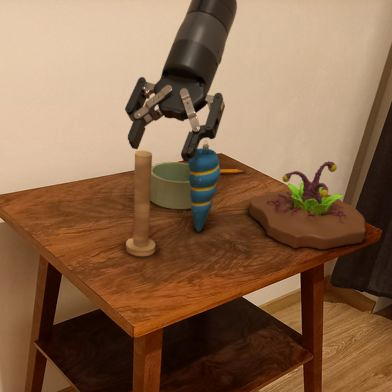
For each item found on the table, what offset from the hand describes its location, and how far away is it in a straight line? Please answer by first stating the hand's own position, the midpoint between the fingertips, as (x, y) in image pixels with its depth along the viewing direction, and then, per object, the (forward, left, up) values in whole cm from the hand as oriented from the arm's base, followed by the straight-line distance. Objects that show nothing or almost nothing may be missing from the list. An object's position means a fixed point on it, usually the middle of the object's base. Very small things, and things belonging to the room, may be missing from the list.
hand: (158, 152), depth 80 cm
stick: (-1, -5, -14) cm, 15 cm away
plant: (+24, +16, -14) cm, 32 cm away
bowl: (-1, +17, -14) cm, 22 cm away
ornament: (+6, +5, -14) cm, 16 cm away
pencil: (+1, +32, -14) cm, 35 cm away
